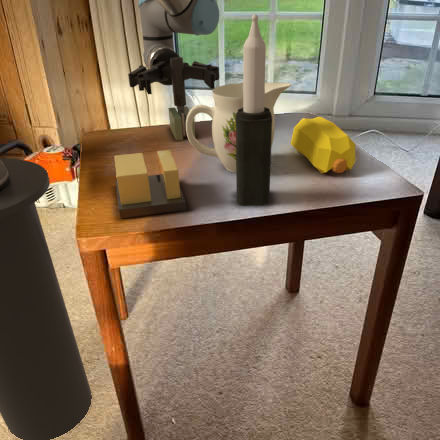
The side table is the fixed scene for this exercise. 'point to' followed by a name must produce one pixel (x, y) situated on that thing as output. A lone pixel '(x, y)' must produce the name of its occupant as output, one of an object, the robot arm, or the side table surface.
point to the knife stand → (178, 122)
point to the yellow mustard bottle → (324, 145)
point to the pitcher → (229, 119)
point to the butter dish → (153, 205)
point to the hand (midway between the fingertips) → (181, 84)
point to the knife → (179, 88)
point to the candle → (253, 126)
